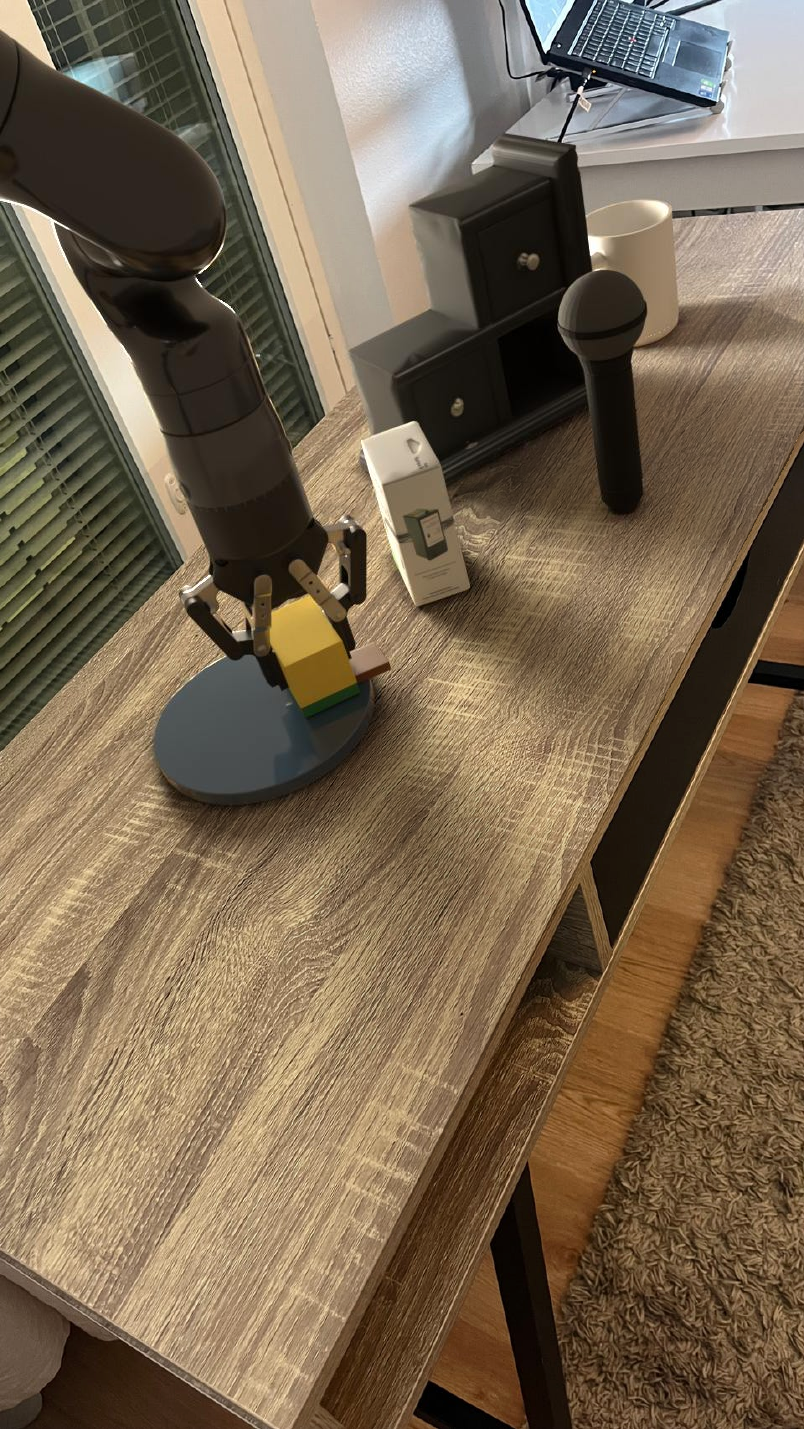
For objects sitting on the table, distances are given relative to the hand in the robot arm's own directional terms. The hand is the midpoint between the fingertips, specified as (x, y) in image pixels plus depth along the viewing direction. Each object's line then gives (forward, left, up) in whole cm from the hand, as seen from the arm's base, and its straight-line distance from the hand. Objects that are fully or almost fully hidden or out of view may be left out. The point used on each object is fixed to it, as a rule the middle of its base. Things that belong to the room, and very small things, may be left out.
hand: (312, 668), depth 80 cm
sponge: (0, 0, -1) cm, 1 cm away
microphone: (+30, +6, -3) cm, 31 cm away
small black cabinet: (+27, +27, -3) cm, 38 cm away
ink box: (+13, +9, -3) cm, 16 cm away
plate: (-5, 0, -3) cm, 5 cm away
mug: (+48, +34, -3) cm, 59 cm away
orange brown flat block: (+4, -1, -1) cm, 4 cm away
